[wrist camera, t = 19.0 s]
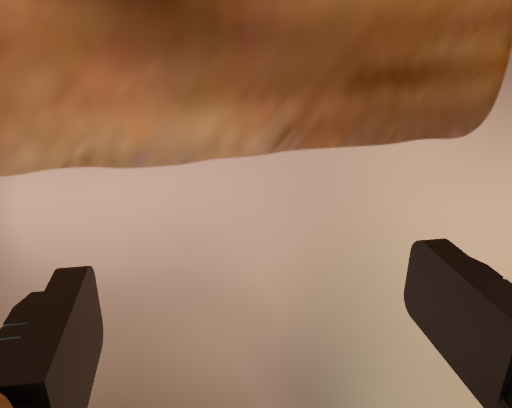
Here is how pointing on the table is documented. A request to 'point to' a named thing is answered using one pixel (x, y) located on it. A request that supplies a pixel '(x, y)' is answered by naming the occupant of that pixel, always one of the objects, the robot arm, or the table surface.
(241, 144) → the table surface
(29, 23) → the table surface
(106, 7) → the table surface
